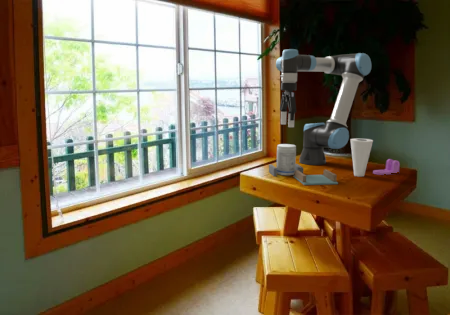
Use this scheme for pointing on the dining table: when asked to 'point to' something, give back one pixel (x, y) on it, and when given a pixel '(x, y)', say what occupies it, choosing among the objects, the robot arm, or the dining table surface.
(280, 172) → the supplement tub
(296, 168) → the holder
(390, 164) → the bracket
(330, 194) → the dining table surface
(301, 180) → the docking bay
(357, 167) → the cup
